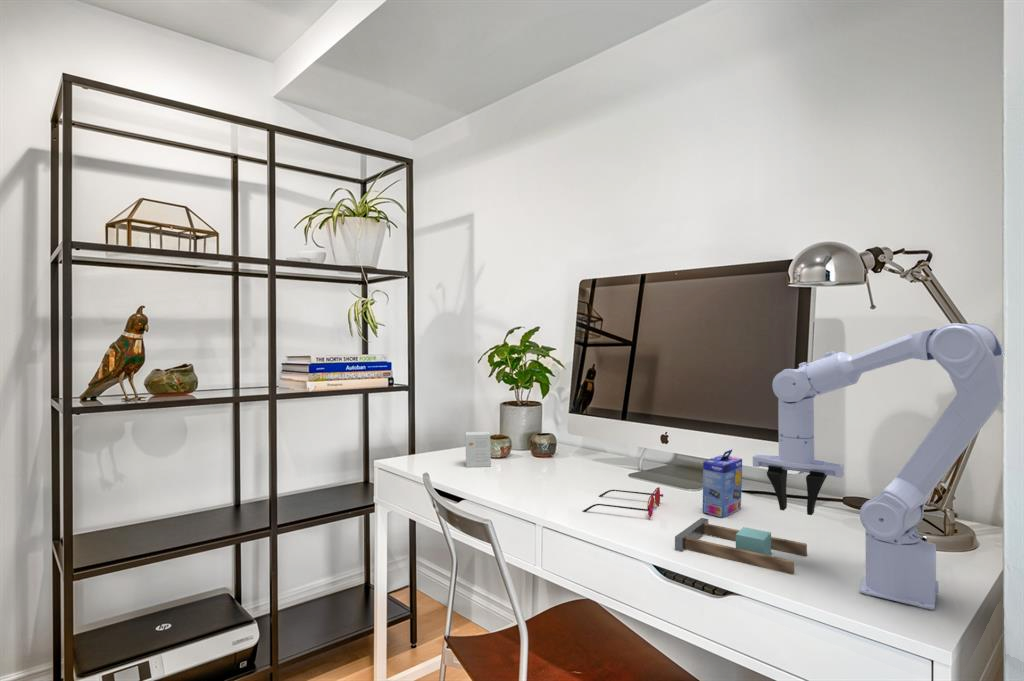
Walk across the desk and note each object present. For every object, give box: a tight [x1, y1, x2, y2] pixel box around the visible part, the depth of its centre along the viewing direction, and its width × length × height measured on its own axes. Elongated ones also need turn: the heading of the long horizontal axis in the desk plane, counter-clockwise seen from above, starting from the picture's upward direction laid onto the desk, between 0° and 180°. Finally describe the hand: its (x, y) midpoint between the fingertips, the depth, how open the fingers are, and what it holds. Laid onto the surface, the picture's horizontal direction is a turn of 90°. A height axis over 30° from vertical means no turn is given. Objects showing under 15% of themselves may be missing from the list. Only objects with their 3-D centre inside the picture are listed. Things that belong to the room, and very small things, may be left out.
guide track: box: [685, 523, 808, 575], centre depth 107 cm, size 19×11×2 cm, turn 51°
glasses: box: [581, 486, 664, 518], centre depth 135 cm, size 14×16×5 cm
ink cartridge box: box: [702, 449, 743, 519], centre depth 131 cm, size 10×6×14 cm, turn 135°
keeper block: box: [735, 526, 772, 556], centre depth 106 cm, size 5×5×4 cm
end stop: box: [674, 517, 709, 552], centre depth 113 cm, size 2×14×2 cm, turn 141°
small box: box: [464, 430, 492, 468], centre depth 181 cm, size 8×6×10 cm
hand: (796, 511), depth 101 cm, fingers open, 4 cm apart
